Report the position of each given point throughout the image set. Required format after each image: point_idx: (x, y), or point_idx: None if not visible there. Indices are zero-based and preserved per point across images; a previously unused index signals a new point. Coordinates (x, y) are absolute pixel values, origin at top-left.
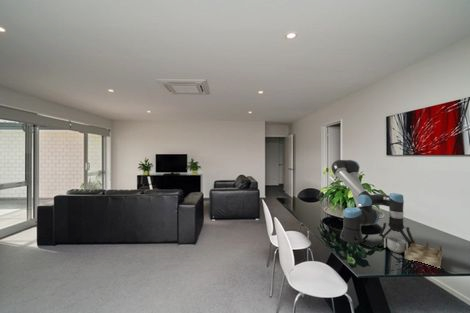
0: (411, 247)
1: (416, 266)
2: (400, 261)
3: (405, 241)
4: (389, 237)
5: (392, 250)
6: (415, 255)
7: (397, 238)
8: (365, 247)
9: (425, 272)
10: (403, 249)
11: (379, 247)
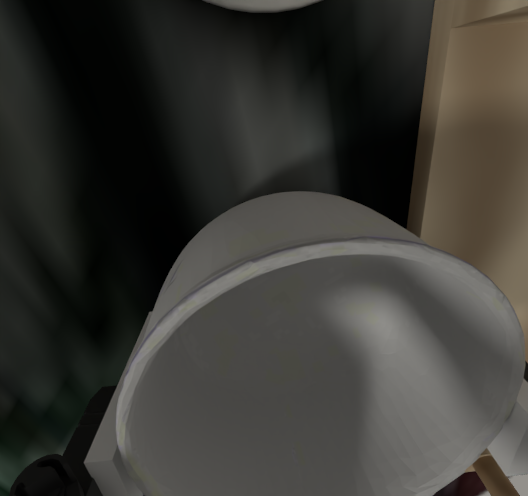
0: (505, 19)
1: None
2: None
3: (494, 314)
4: (145, 381)
5: (266, 362)
6: None
7: (306, 259)
8: (34, 446)
9: (509, 476)
10: (398, 371)
11: (107, 332)
